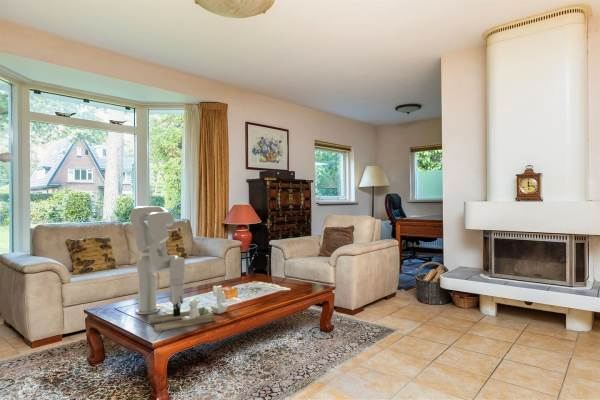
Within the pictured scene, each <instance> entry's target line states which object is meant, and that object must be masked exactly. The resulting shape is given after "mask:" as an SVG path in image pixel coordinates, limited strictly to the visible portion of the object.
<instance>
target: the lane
mask: <svg viewBox="0 0 600 400" xmlns="http://www.w3.org/2000/svg"><path fill="white" fill-rule="evenodd" d="M197 308H198V310H199V314H200V316H196V318H191V319H186V320H182V318H183V317H185V316H188V317H189V315H190V314H189V311H190V309H188V310H185V311H180V316H177V317H174V316H173V313H168V314H162V315H156V316H150V317H148V324H149V325H151V324H150V323H155V322H160V321H162V322H163V324H158V325H155V330H154V333H157V332H161V331H166V330H172V329H177V328H183V327H189V326H194V325H199V324H204V323H209V322H213V321H214V312H213V311H211V310H210V309H209V308H207V307H206V306H202V307H197ZM177 319H181V320H177ZM174 320H176V321H174ZM167 321H168V322H167ZM169 321H170V322H169Z"/></svg>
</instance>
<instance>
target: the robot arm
mask: <svg viewBox="0 0 600 400" xmlns="http://www.w3.org/2000/svg"><path fill="white" fill-rule="evenodd" d="M129 219H130V222H131V226H132V228H133V231H134V236H135V242H136V243H135V244H136V249H137V252H138V253H139V254H141V255H143V254H144V256H141V257H139V258H137V260H136V264H135V265H136V269H137V281H138V282H137V283H138V289H137V290H138V303H137V304H138V305H137V306H138V307H137V308H136V309H135V313H136V314H137V315H151V314H155V313H158V312H159V311H160V307H159V306H157V278H156V276H155V275H154V274H153V273H154V272H155V273H156V272H161V271H168V270H169V275H168V276H169V278H168V279H169V280H168V284H169V295H168V296H169V297H168V298H169V299H168V300H169V302H170V303H171V304H172V308H173V309H172V312H173V313H172V314H173V316H174V317H177V316H180V312H181V308H182V304H183V303H184V285H185V278H186V277H185V274H186V273H185V271H186V269H185V268H186V267H185V266H186V264H185V262H186V261H185V258H184V257H182V256H178V255H177V254H169V255H168V249H167V243H166V242H167V240H169V238H170V235H169V231H168V229H167V227H171V226H173V225H174V224H175V223H174V222H175V217H174V215H173V214H172V212H170V210H168V209H166V208H165V207H162V206H160V205H142V206H141V205H140V206H136V207H133V208H132V210H131V211H130V215H129ZM146 222H147V223H146ZM145 254H148V255H145Z"/></svg>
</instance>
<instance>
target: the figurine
mask: <svg viewBox="0 0 600 400" xmlns="http://www.w3.org/2000/svg"><path fill="white" fill-rule="evenodd" d="M222 287H223V285H221V284H220V285H213V286H212V295H213V296H214V297H215V298H216V303H215V304H212V305H210V306H209V307H210V309H211V310H212V313H213V314H218V315H219V314H223V313H225V312H226V311H227V309H228V306H229V305H228V304H225V303H226V300H227V299H226V293H225V292H222V291H223V288H222Z"/></svg>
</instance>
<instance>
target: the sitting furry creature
mask: <svg viewBox="0 0 600 400" xmlns="http://www.w3.org/2000/svg"><path fill="white" fill-rule="evenodd" d="M200 302H201V300H200V299H199V300H198V299H197V298H192V299H190V301H189V304H188V306H189V307H190V308H189V310H190V311H189V310H188V311H189V314H190V315H189V317H188V316H185V317H183V318H181V320H186V319H191V318H196V316H201V315H200V314H199V310H198V308H199V307H198V304H199V303H200Z"/></svg>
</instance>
